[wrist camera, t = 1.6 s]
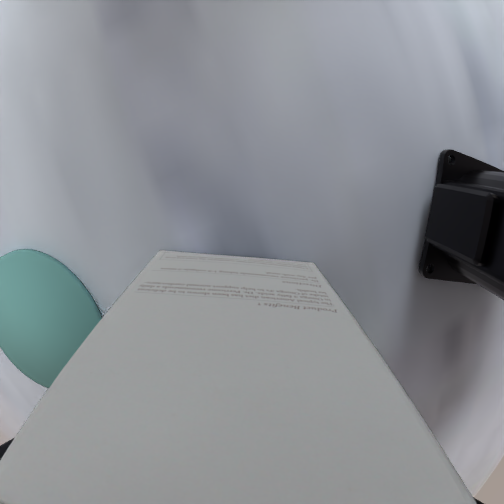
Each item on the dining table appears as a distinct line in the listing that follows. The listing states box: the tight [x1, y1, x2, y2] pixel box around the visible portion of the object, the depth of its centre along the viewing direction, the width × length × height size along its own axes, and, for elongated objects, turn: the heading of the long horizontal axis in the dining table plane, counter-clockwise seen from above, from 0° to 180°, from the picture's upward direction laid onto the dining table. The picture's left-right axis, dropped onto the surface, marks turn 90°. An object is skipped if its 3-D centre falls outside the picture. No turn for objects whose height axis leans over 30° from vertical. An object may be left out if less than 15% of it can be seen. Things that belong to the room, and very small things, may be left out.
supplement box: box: [0, 250, 477, 504], centre depth 9 cm, size 7×7×13 cm
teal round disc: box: [0, 249, 102, 388], centre depth 15 cm, size 9×9×1 cm
